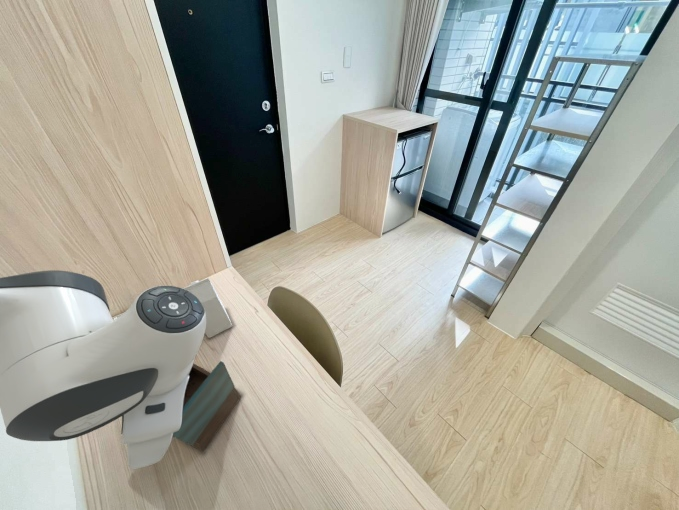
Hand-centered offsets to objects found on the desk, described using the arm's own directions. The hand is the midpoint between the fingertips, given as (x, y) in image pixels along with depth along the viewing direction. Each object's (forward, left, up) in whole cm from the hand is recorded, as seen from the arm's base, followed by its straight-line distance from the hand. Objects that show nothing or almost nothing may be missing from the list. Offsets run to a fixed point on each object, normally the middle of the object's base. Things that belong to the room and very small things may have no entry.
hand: (146, 406), depth 47 cm
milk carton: (+20, +21, -21) cm, 36 cm away
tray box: (+4, +4, -21) cm, 21 cm away
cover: (+6, -4, -6) cm, 9 cm away
